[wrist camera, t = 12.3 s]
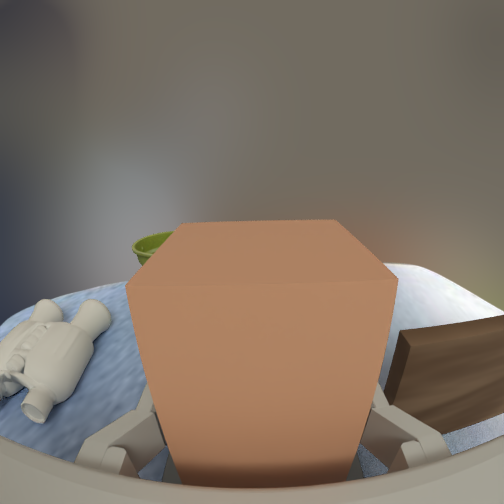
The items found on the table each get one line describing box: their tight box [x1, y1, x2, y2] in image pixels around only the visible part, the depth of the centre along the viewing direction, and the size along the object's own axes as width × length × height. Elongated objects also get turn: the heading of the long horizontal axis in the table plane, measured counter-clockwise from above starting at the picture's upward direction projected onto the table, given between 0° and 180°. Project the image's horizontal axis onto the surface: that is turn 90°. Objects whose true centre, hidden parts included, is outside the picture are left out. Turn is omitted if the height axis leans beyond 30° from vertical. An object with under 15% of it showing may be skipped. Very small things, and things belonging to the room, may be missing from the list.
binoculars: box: [0, 299, 111, 423], centre depth 24 cm, size 10×16×5 cm, turn 5°
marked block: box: [125, 220, 398, 488], centre depth 10 cm, size 5×5×14 cm
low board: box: [383, 315, 504, 435], centre depth 16 cm, size 2×17×9 cm, turn 90°
